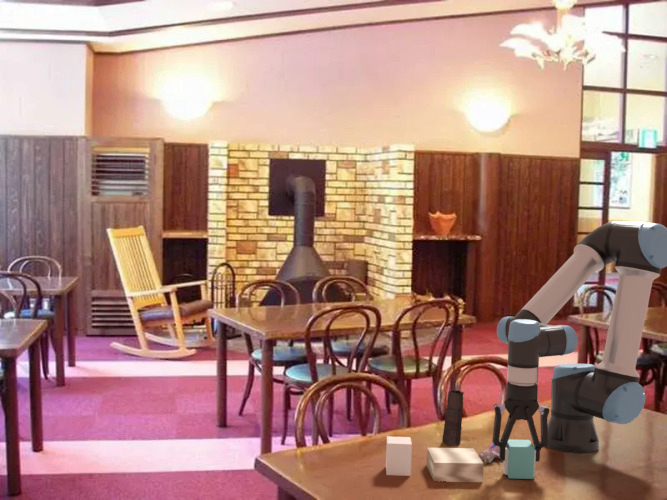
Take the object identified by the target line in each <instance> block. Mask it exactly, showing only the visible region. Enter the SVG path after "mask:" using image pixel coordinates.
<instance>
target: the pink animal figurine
mask: <svg viewBox="0 0 667 500" xmlns="http://www.w3.org/2000/svg"><path fill="white" fill-rule="evenodd" d="M491 441H492V440H491ZM499 453H500V447H499V446H495V445H494V443H493V441H492V442H491V443H490V445H489V447H488V449H486V450H481V454H478V456H479V457H480V459H481V460H482V462H483V463H484V465H487V464H491V463H492V462H493V461H494V459H495V458H497V459H500V457H499Z"/></svg>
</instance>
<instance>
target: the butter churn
mask: <svg viewBox="0 0 667 500" xmlns="http://www.w3.org/2000/svg"><path fill="white" fill-rule="evenodd" d="M451 345H452V364H453V365H452V367H453V371H452V372H453V390H448V393H447V399H446V400H447V402H446V403H447V404H446V410H445V411H446V412H445V419H444V425H443V433H442V442H441V443H442V444H446V445H448V446H459V445H460V444H461V439H462V436H461V435H462V429H463V427H462V421H463V411H464V410H463V406H464V394H465V392H464V391H460V390H458V389H457V387H456V386H457V385H456V382H457V381H456V380H457V379H456V357H455V343H452V344H451Z"/></svg>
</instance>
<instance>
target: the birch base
mask: <svg viewBox="0 0 667 500" xmlns="http://www.w3.org/2000/svg"><path fill="white" fill-rule="evenodd" d="M478 455H479V454H478V453H477V451H476V450H475V448H473V447H471V448H469V447H468V448H467V447H426V467H427V470H428V471H429V474H430V476H431V479H432V481H433V482H434V481H438V482H440V481H442V483H444V482H443V481H446V482H447V483H448V482H449V483H451V482H453V483H454V482H456V483H483V482H484V465H485V463H484V461H482V460H481V459H480V457H479V456H478ZM446 482H445V483H446Z"/></svg>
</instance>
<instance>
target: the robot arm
mask: <svg viewBox="0 0 667 500" xmlns="http://www.w3.org/2000/svg"><path fill="white" fill-rule="evenodd" d="M612 263H615V264H614V269H615V270H616V271H617V273H618V280H617V285H616V290H615V295H614V299H613V305H612V310H611V315H610V320H609V325H608V330H607V334H606V335H607V336H606V338H605V339H606V342H605V346H604V349H603V355H602V360H601V362H599V363H598V364H596V365H594V364H592V363H561V364H557V365H555V367H554V368H553V369H552V377H551V397H550V398H551V399H550V401H551V402H550V403H551V405H550V409H549V407H548V406H547V405H540V404H539V401H538V394H539V393H538V389H539V385H538V382H539V366H540V363H539V362H540V358H546V357H556V356H557V357H558V356H565V355H568V354H572V353H573V352H574V351H575V350H576V349H577V347H578V335H577V333H576V331H575V329H574V328H573V327H572V326H570V325H567V324H566V325H565V324H558V325H554V324H553V325H552V324H548V323H549V322H550V321H551V320H552V319H553V318H554V317H555V316H556V314H558V312H559V311H560V310H561V309H562V308H563V307H564V306H565V304H567V302H569V300H570V299H571V298H572V297H573V296H574V295H575V294H576V293H577V291H578V290H579V289H580V288H581V287H582V286H583V285H584V284H586V282H587V281H588V280H589V279H590V278H591V276H592V275H594V273H595V272H601V271H602V270H603V269H604V268H605V267H606V266H607V265H610V264H612ZM665 268H667V227H666V226H665V225H663V224H661V223H655V222H648V221H625V220H613V221H609V222H607V223H604V224H602V225H600V226H598V227H596V228H594V229H593V230H592V231H591V232H589V233H588V234H587V235H586V236H584V237H583V238H582V239H581V240H580V241H579V242H578V243H577V244H576V246H574V248H573V253H572V255H571V256H570V257H569V258H568V259H567V260H566V261H565V262H564V263H563V264H562V266H561V267H559V269H557V271H556V272H555V273H554V274H553V275H552V276H551V277H550V278H549V279H548V280H547V281H546V283H545V284H543V286H542V287H540V289H539V290H538V291H537V292H536V293H535V294H534V295H533V296H532V298H530V299H529V301H528V302H527V303H526V304H525V305H524V306H523V307H522V308H521V309H520V310H519V311H518V312H517V313H516V315H515V316H512V315H510V316H504V317H502V318H501V319H500V320H499V321H498V324H497V325H496V326H497V327H496V335H497V338H498V340H499V341H500V342H502V343H504V344H506V345H507V372H506V374H507V375H506V379H507V381H508V382H507V383H506V396H505V397H506V398H505V401H503V402H504V403H501V404H494V405H493V410H494V421H493V422H494V423H493V433H492V440H491V441H493V443H494V445H495V446H499V447H500V453H499V457H500V458H499V459H500V461H502V464H503V465H502V472H503V474H504V475H505V476H507V475H508V455H509V449H508V447H507V446H506V445H507V442H508V440H509V439H510V437H511V434H512V431H513V428H514V425H515V424H516V422H517V421H520V420H523V421H526V422H527V424H528V429H529V432H530V436H531V440H532V444H533V446H534V474H533V477H535V476H536V462H540V460H541V459H540V458H541V450H542V449H543V448H547V447H549V448H550V449H553V450H557V451H562V452H566V453H574V454H575V453H578V454H579V453H581V454H582V453H585V454H586V453H593V452H596V451H598V449H599V443H600V440H599V437H598V433H597V428H596V425H595V422H594V417H595V418H598V419H600V420H601V419H602V420H604V421H606V422H607V423H613V424H618V425H626V424H627V425H628V424H630V423H632V422H634V420H635V419H637V418H638V417H639V416H640V415H641V413H642V411H643V409H644V407H645V404H646V393H645V389H644V386H642V385H641V384H640V374H639V373H638V371H637V369H636V367H637V361H638V357H639V351H640V346H641V341H642V336H643V331H644V327H645V322H646V316H647V311H648V306H649V301H650V296H651V292H652V291H651V290H652V286H653V282H654V280H656V279H657V278H660V276H661V271H662V269H665ZM504 410H506V411H507V412H508V414H509V415H508V418H507V421H506V424H505V427H504V430H503V433H502V434H501V426H502V425H501V424H502V415H503V413H504V412H505V411H504ZM537 411H538V413H539V414H540V415H539V417H540V418H539V419H540V420H539V421H540V439H539V436H538V433H537V429H536V426H535V421H534V417H533V416H534V415H535V414H536V412H537ZM549 414H550V417H549ZM548 417H549V420H548ZM500 434H501V435H500ZM500 437H501V438H500Z"/></svg>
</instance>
